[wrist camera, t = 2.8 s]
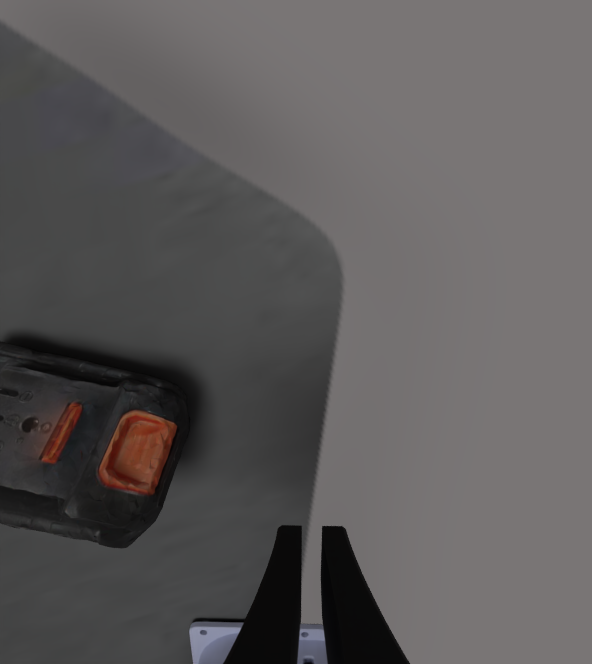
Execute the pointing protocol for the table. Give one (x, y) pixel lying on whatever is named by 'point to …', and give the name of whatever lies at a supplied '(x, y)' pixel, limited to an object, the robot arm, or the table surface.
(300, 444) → the table surface
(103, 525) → the battery
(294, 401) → the table surface
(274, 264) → the table surface
